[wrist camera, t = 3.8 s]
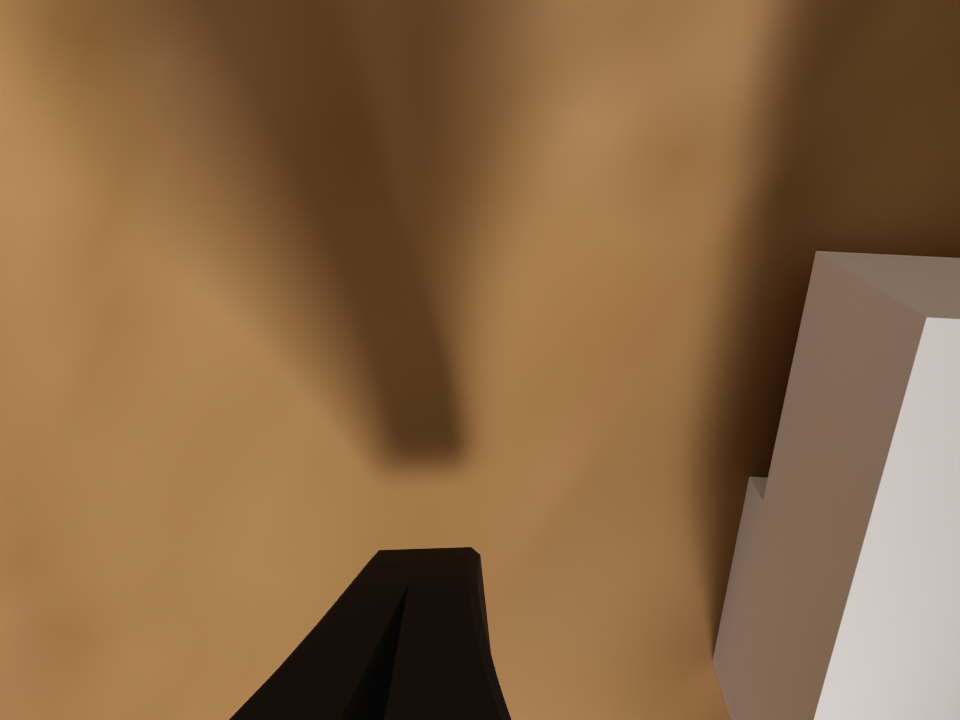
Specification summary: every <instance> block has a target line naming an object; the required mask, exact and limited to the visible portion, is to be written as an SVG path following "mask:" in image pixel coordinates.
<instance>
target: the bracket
mask: <svg viewBox="0 0 960 720" xmlns="http://www.w3.org/2000/svg"><path fill="white" fill-rule="evenodd" d="M712 662H713V666H714V669H715V672H716V675H717V679H718V682H719V685H720V688H721V692H722V695H723V698H724V701H725V705H726V708H727V711H728V714H729V718H730V720H960V258H950V257H930V256H909V255H889V254H868V253H848V252H827V251H816V254H815V258H814V263H813V268H812V272H811V277H810V282H809V286H808V291H807V296H806V301H805V305H804V310H803V315H802V319H801V324H800V329H799V333H798V338H797V343H796V348H795V352H794V357H793V362H792V366H791V371H790V376H789V381H788V385H787V390H786V395H785V399H784V404H783V409H782V413H781V418H780V423H779V428H778V432H777V437H776V442H775V446H774V451H773V456H772V461H771V465H770V470H769V475H768V478H764V477H749V480H748V485H747V490H746V495H745V500H744V505H743V510H742V515H741V520H740V525H739V530H738V535H737V540H736V545H735V550H734V555H733V560H732V565H731V571H730V576H729V581H728V586H727V591H726V596H725V601H724V606H723V611H722V616H721V621H720V626H719V631H718V636H717V641H716V646H715V651H714V656H713V661H712Z"/></svg>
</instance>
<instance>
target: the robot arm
mask: <svg viewBox="0 0 960 720" xmlns="http://www.w3.org/2000/svg"><path fill="white" fill-rule="evenodd" d="M229 720H511V718H510V715H509V712H508V709H507V706H506V703H505V700H504V697H503V694H502V691H501V688H500V685H499V681H498V678H497V675H496V671H495V667H494V664H493V660H492V656H491V650H490V641H489V632H488V623H487V613H486V604H485V595H484V586H483V577H482V567H481V558H480V554H479V553H477V552H476V551H475V550H474V549H472V548H471V547H464V548H434V549H404V550H379V551H378V552H377V553H376V554H375V556H374V557H373V558H372V559H371V560H370V561H369V562H368V563H367V565H366V566H365V567H364V568H363V569H362V571H361V572H360V573H359V574H358V576H357V577H356V578H355V579H354V580H353V582H352V583H351V584H350V585H349V587H348V588H347V589H346V590H345V591H344V593H343V594H342V595H341V596H340V597H339V599H338V600H337V601H336V602H335V603H334V605H333V606H332V607H331V608H330V609H329V611H328V612H327V613H326V614H325V615H324V617H323V618H322V619H321V620H320V621H319V623H318V624H317V625H316V626H315V627H314V628H313V629H312V631H311V632H310V633H309V634H308V635H307V636H306V637H305V639H304V640H303V641H302V642H301V643H300V644H299V645H298V647H297V648H296V649H295V650H294V651H293V652H292V653H291V654H290V656H289V657H288V658H287V659H286V660H285V661H284V662H283V664H282V665H281V666H280V667H279V668H278V669H277V670H276V671H275V672H274V674H273V675H272V676H271V677H270V678H269V679H268V680H267V681H266V682H265V683H264V684H263V685H262V686H261V687H260V688H259V689H258V690H257V691H256V692H255V693H254V694H253V696H252V697H251V698H250V699H249V700H248V701H247V702H246V703H245V704H244V705H243V706H242V707H241V708H240V709H239V710H238V711H237V712H236V713H235V714H234V715H233V716H232V717H231V718H230V719H229Z"/></svg>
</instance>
